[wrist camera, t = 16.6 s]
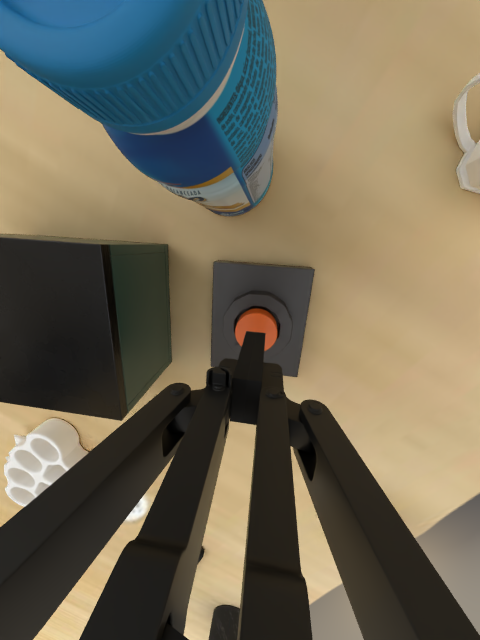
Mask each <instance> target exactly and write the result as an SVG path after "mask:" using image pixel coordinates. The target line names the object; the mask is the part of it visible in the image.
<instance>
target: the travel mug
mask: <svg viewBox="0 0 480 640" xmlns="http://www.w3.org/2000/svg"><path fill="white" fill-rule="evenodd" d="M239 615H240V609H238V608H236V607H233V606H227V605H224V606H219V607H217V608H216V609H215V610H214V613H213V618H212V624H211V629H210V635H209V640H237V636H238V626H239Z"/></svg>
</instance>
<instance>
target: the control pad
mask: <svg viewBox="0 0 480 640" xmlns="http://www.w3.org/2000/svg"><path fill="white" fill-rule="evenodd" d="M314 271H315V269H313V268H311V267H300V266H287V265H274V264H260V263H247V262H234V261H221V260H218V261H215V262H214V264H213V302H212V339H211V367H218V366H219V364H220V361H222V360H223V359H225V358H228V359H237V360H238V357H239V354H240V351H241V346H240V344H239V343H238V342H237V340H236V337H235V328H236V325H237V322H238V320H239V318H240V316H241V315H242V314H243V313H244V312H246V311H248V310H250V309H255V308H259V309H263V310H266V311H268V312H269V313H270V314H271V315H272V316H273V317H274V318H275V320H276V324H277V339H276V341H275V343H274V345H273V346H272V347H271V348H269V349H268V350H266V351H264V362H266V363H275V364H279V365H280V366H281V368H282V375H284V376H292V377H297V375H298V369H299V363H300V357H301V351H302V344H303V338H304V332H305V326H306V320H307V314H308V307H309V301H310V295H311V289H312V283H313V277H314Z"/></svg>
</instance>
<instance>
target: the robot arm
mask: <svg viewBox="0 0 480 640" xmlns="http://www.w3.org/2000/svg"><path fill="white" fill-rule="evenodd" d="M265 335H266V333H261V332H251V331H246V334H245V337H244V340H243V344H242V347H241V351H240V354H239V357H238V360H237V359H228V358H225V359H223V360H222V361H220V364H219V366H218V367H213V368H211V369H209V370H208V371H207V379H206V387H205V388H204V389H201V390H192V391H191V389H190V387H189V385H187V384H184V383H174V384H171V385H169V386H167V387H166V388H165V389H164V390H163V391H161V392H160V393H159V394H158V395H157V396H155V397H154V398H153V399H152V400H151V401H149V402H148V403H147V404H146V405H145V406H144V407H142V408H141V409H140V410H139V411H138V412H136V413H135V414H134V415H133V416H132V417H131V418H129V419H128V420H127V421H126V422H125V423H123V424H122V425H121V426H120V427H119V428H118V429H116V430H115V431H114V432H113V433H112V434H110V435H109V436H108V437H107V438H106V439H105V440H103V441H102V442H101V443H100V444H99V445H97V446H96V447H95V448H94V449H93V450H91V451H90V452H89V453H88V454H87V455H86V456H84V457H83V458H82V459H81V460H80V461H78V462H77V463H76V464H75V465H74V466H73V467H71V468H70V469H69V470H68V471H67V472H65V473H64V474H63V475H62V476H61V477H60V478H58V479H57V480H56V481H55V482H54V483H52V484H51V485H50V486H49V487H48V488H47V489H45V490H44V491H43V492H42V493H41V494H39V495H38V496H37V497H36V498H35V499H33V500H32V501H31V502H30V503H29V504H28V505H26V506H25V507H24V508H23V509H22V510H20V511H19V512H18V513H17V514H16V515H15V516H13V517H12V518H11V519H10V520H9V521H7V522H6V523H5V524H4V525H3V526H2V527H0V640H33V639H34V637H35V636H36V635H37V634H38V632H39V631H40V630H41V629H42V628H43V626H44V625H45V624H46V622H47V621H48V620H49V618H50V617H51V616H52V615H53V613H54V612H55V611H56V609H57V608H58V607H59V605H60V604H61V603H62V601H63V600H64V599H65V597H66V596H67V595H68V594H69V592H70V591H71V590H72V588H73V587H74V586H75V584H76V583H77V582H78V580H79V579H80V578H81V577H82V575H83V574H84V573H85V571H86V570H87V569H88V567H89V566H90V565H91V563H92V562H93V561H94V559H95V558H96V557H97V556H98V554H99V553H100V552H101V550H102V549H103V548H104V546H105V545H106V544H107V542H108V541H109V540H110V539H111V537H112V536H113V535H114V533H115V532H116V531H117V529H118V528H119V527H120V525H121V524H122V523H123V521H124V520H125V519H126V518H127V516H128V515H129V514H130V512H131V511H132V510H133V508H134V507H135V506H136V504H137V503H138V502H139V501H140V499H141V498H142V497H143V495H144V494H145V493H146V491H147V490H148V489H149V487H150V486H151V485H152V483H153V482H154V481H155V480H156V478H157V477H158V476H159V474H160V473H161V472H162V470H163V469H164V468H165V466H166V465H167V464H168V463H169V461H170V460H171V459H172V457H173V456H174V455H175V456H174V458H173V460H172V462H171V464H170V467H169V469H168V471H167V473H166V475H165V478H164V480H163V482H162V484H161V486H160V489H159V491H158V493H157V495H156V497H155V500H154V502H153V504H152V506H151V508H150V511H149V513H148V515H147V517H146V519H145V522H144V524H143V526H142V528H141V530H140V532H139V534H138V536H137V537H136V539H135V540H132V541H130V542H129V543H128V544H127V545H126V546H125V548H124V549H123V551H122V553H121V555H120V557H119V559H118V561H117V563H116V565H115V567H114V569H113V571H112V573H111V575H110V577H109V579H108V581H107V583H106V585H105V588H104V590H103V592H102V594H101V596H100V598H99V600H98V602H97V604H96V606H95V608H94V610H93V612H92V614H91V616H90V619H89V621H88V623H87V625H86V627H85V629H84V631H83V633H82V635H81V637H80V639H79V640H189V639H187V638H186V637H185V636H183V634H184V628H185V622H186V615H187V608H188V603H189V598H190V594H191V590H192V585H193V581H194V577H195V572H196V568H197V564H198V559H199V555H200V551H201V546H202V542H203V538H204V533H205V529H206V525H207V520H208V516H209V512H210V507H211V503H212V499H213V494H214V490H215V486H216V481H217V477H218V472H219V468H220V464H221V459H222V455H223V451H224V446H225V442H226V438H227V433H228V429H229V419H230V421H233V422H240V423H247V424H254V425H257V427H256V437H255V449H254V460H253V471H252V482H251V493H250V504H249V515H248V526H247V538H246V549H245V560H244V571H243V582H242V593H241V604H240V615H239V626H238V636H237V640H312V631H311V620H310V610H309V600H308V592H307V586H306V581H305V578H304V577H303V575H302V573H301V567H300V556H299V544H298V532H297V520H296V508H295V496H294V484H293V473H292V461H291V449H290V446H292V447H293V450H294V453H295V456H296V459H297V461H298V464H299V467H300V469H301V472H302V475H303V477H304V480H305V483H306V485H307V488H308V491H309V494H310V496H311V499H312V502H313V504H314V507H315V510H316V512H317V515H318V518H319V520H320V523H321V526H322V528H323V531H324V534H325V536H326V539H327V542H328V544H329V547H330V550H331V552H332V555H333V558H334V561H335V563H336V566H337V569H338V571H339V574H340V577H341V579H342V582H343V585H344V587H345V590H346V592H347V595H348V598H349V601H350V603H351V606H352V609H353V611H354V614H355V617H356V619H357V622H358V625H359V627H360V630H361V633H362V636H363V638H364V640H480V635H479V634H478V632H477V631H476V630H475V628H474V626H473V625H472V623H471V622H470V620H469V619H468V618H467V616H466V614H465V613H464V612H463V610H462V608H461V607H460V606H459V604H458V603H457V601H456V599H455V598H454V597H453V595H452V593H451V592H450V590H449V589H448V587H447V586H446V585H445V583H444V581H443V580H442V579H441V577H440V576H439V574H438V573H437V571H436V570H435V568H434V567H433V565H432V564H431V562H430V561H429V559H428V558H427V556H426V555H425V553H424V552H423V550H422V549H421V547H420V546H419V544H418V543H417V541H416V540H415V538H414V537H413V535H412V534H411V532H410V531H409V529H408V528H407V526H406V525H405V523H404V522H403V520H402V519H401V517H400V516H399V514H398V513H397V511H396V510H395V508H394V507H393V505H392V504H391V502H390V501H389V499H388V498H387V496H386V495H385V493H384V492H383V490H382V489H381V487H380V486H379V484H378V483H377V481H376V480H375V478H374V477H373V475H372V474H371V472H370V471H369V469H368V468H367V466H366V465H365V463H364V462H363V460H362V459H361V457H360V456H359V454H358V453H357V451H356V450H355V448H354V447H353V445H352V444H351V442H350V441H349V439H348V438H347V436H346V435H345V433H344V432H343V430H342V429H341V427H340V426H339V424H338V423H337V421H336V420H335V418H334V417H333V415H332V414H331V412H330V411H329V409H328V408H327V407H326V406H325V405H324V404H322V403H321V402H319V401H316V400H305V401H303V402H302V403H301V405H300V404H298V403H295V402H293V401H291V400H289V399H288V398H287V397H286V394H285V392H284V388H283V375H282V368H281V366H280V365H279V364H275V363H266V362H264V349H265Z"/></svg>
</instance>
